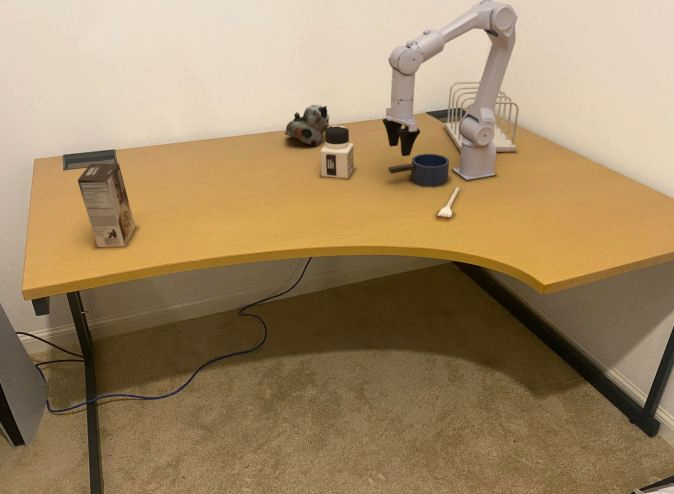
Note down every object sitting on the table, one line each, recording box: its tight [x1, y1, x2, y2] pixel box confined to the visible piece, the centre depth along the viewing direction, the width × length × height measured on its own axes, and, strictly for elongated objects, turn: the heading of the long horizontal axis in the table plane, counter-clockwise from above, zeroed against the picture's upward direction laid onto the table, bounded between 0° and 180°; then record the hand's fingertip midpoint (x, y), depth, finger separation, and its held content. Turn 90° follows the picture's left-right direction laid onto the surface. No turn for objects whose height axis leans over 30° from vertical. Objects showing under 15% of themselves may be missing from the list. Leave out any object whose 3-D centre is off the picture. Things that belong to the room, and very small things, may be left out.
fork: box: [436, 186, 460, 218], centre depth 145 cm, size 3×20×2 cm, turn 161°
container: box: [320, 125, 355, 179], centre depth 159 cm, size 8×8×13 cm
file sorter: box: [444, 80, 520, 153], centre depth 182 cm, size 25×17×16 cm
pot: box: [388, 153, 450, 188], centre depth 157 cm, size 17×10×6 cm, turn 113°
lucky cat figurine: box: [284, 104, 330, 147], centre depth 182 cm, size 15×12×14 cm
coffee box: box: [77, 163, 136, 248], centre depth 126 cm, size 9×6×16 cm
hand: (399, 150), depth 151 cm, fingers open, 7 cm apart
